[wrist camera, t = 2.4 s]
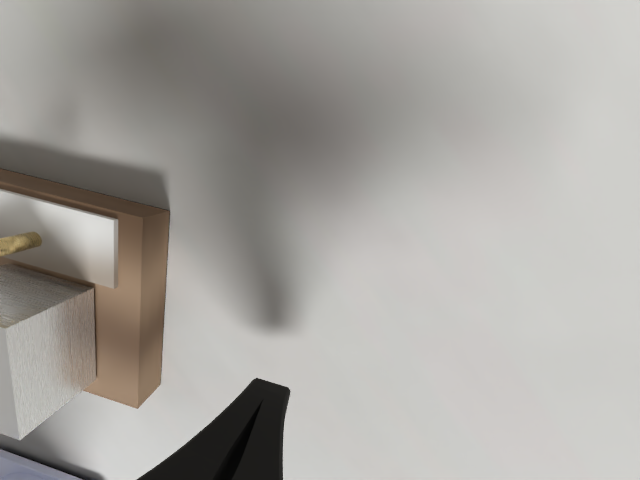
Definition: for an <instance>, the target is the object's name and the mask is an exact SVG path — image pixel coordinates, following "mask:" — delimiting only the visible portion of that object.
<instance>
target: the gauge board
mask: <svg viewBox="0 0 640 480" xmlns="http://www.w3.org/2000/svg"><path fill="white" fill-rule="evenodd" d="M169 215H170V211H168V210H164V209H160V208H156V207H152V206H148V205H144V204H140V203H136V202H132V201H128V200H124V199H120V198H116V197H112V196H108V195H104V194H100V193H96V192H92V191H88V190H84V189H80V188H76V187H72V186H68V185H64V184H60V183H56V182H52V181H48V180H44V179H40V178H36V177H32V176H28V175H24V174H20V173H16V172H12V171H8V170H4V169H0V238H4V237H9V236H13V235H18V234H23V233H28V232H36V233H38V234H39V235H40V237H41V239H42V244H41V246H39V247H36V248H32V249H28V250H24V251H20V252H17V253H13V254H9V255H5V256H1V257H0V266H1V265H4V264H8V263H9V264H12V265H16V266H19V267H23V268H26V269H30V270H33V271H37V272H40V273H44V274H47V275H50V276H54V277H57V278H61V279H64V280H68V281H71V282H75V283H78V284H81V285H85V286H88V287H92V288H94V319H95V359H96V380H95V381H94V382H93V383H91V384H90V385H89V386H88V387H86V388H85V389H84V390H83V391H86V392H89V393H92V394H95V395H98V396H101V397H104V398H107V399H110V400H113V401H116V402H119V403H122V404H125V405H128V406H131V407H134V408H137V409H138V408H139V407H140V406H141V405H142V403H143V402H144V401H145V400H146V399H147V398H148V397H149V396H150V395H151V394H152V393H153V392H154V391H155V390H156V389H157V388H158V386H159V385H160V380H161V362H162V344H163V325H164V307H165V288H166V270H167V252H168V233H169Z"/></svg>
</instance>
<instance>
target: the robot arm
mask: <svg viewBox="0 0 640 480" xmlns="http://www.w3.org/2000/svg"><path fill="white" fill-rule="evenodd" d="M289 396H290V390H289V388H288V387H285V386H281V385H278V384H275V383H271V382H268V381H265V380H262V379H258V378H256V379H254V380H253V381H252V382H251V383H250V384H249V385H248V386H247V387H246V389H245V390H244V391H243V392H242V393H241V394H240V395H239V396H238V397H237V398H236V399H235V400H234V401H233V402H232V403H231V404H230V405H229V406H228V407H227V408H226V409H225V410H224V411H223V412H222V413H221V414H220V415H219V416H217V417H216V418H215V419H214V420H213V421H212V422H211V423H210V424H209V425H208V426H206V427H205V428H204V429H203V430H202V431H200V432H199V433H198V434H197V435H196V436H195V437H193V438H192V439H191V440H190V441H189V442H187V443H186V444H185V445H184V446H182V447H181V448H180V449H179V450H177V451H176V452H175V453H173V454H172V455H171V456H169V457H168V458H167V459H165V460H164V461H163V462H161V463H160V464H159V465H157V466H156V467H154V468H153V469H152V470H150V471H149V472H147V473H146V474H144V475H143V476H141V477H140V478H138V479H137V480H283V430H284V419H285V414H286V410H287V405H288V400H289ZM0 480H83V479H80V478H78V477H75V476H72V475H70V474H67V473H64V472H62V471H59V470H56V469H53V468H51V467H48V466H45V465H43V464H40V463H37V462H34V461H32V460H29V459H26V458H24V457H21V456H18V455H15V454H13V453H10V452H7V451H5V450H2V449H0Z"/></svg>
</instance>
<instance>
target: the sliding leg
mask: <svg viewBox="0 0 640 480" xmlns="http://www.w3.org/2000/svg"><path fill="white" fill-rule="evenodd" d="M41 244H42V239H41V237H40V235H39V234H38V233H36V232H28V233H23V234H18V235H13V236H9V237H4V238H0V257H1V256H5V255H9V254H13V253H17V252H20V251H24V250H28V249H32V248H36V247H39V246H41ZM95 380H96V359H95V319H94V288H92V287H88V286H85V285H81V284H78V283H75V282H71V281H68V280H64V279H61V278H57V277H54V276H50V275H47V274H44V273H40V272H37V271H33V270H30V269H26V268H23V267H19V266H16V265H12V264H9V263H8V264H4V265H1V266H0V434H3V435H6V436H8V437H11V438H14V439H17V440H19V441H20V440H21V439H22V438H24V437H25V436H26V435H27V434H29V433H30V432H31V431H32V430H34V429H35V428H36V427H37V426H39V425H40V424H41V423H42V422H44V421H45V420H46V419H47V418H49V417H50V416H51V415H52V414H54V413H55V412H56V411H57V410H59V409H60V408H61V407H62V406H64V405H65V404H66V403H67V402H69V401H70V400H71V399H72V398H74V397H75V396H76V395H78V394H79V393H80V392H81V391H83V390H84V389H85V388H86V387H88V386H89V385H90V384H91V383H93V382H94V381H95Z"/></svg>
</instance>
